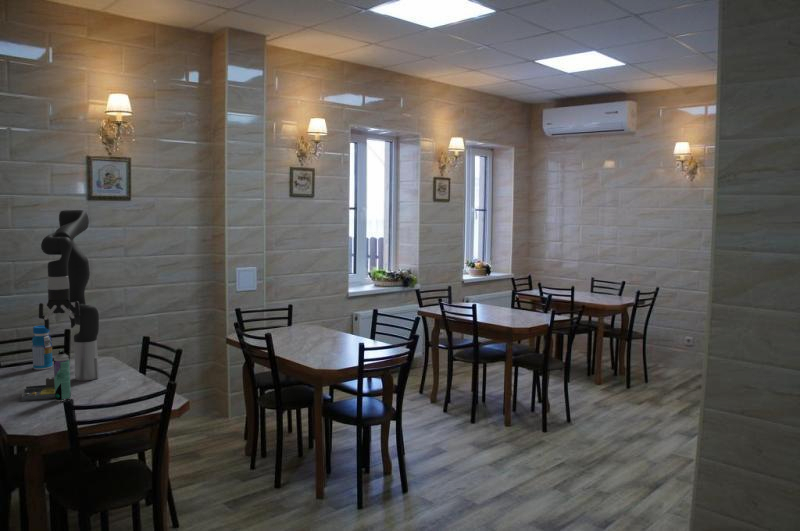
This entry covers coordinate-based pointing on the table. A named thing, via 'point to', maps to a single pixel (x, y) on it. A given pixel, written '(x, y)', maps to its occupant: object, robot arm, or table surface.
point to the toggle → (50, 382)
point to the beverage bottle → (41, 348)
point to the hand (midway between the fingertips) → (60, 328)
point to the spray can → (62, 376)
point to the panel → (38, 393)
